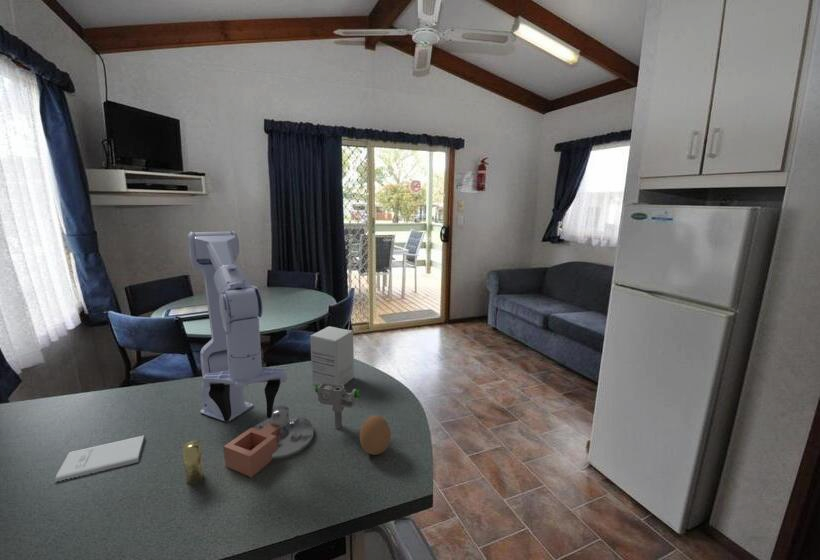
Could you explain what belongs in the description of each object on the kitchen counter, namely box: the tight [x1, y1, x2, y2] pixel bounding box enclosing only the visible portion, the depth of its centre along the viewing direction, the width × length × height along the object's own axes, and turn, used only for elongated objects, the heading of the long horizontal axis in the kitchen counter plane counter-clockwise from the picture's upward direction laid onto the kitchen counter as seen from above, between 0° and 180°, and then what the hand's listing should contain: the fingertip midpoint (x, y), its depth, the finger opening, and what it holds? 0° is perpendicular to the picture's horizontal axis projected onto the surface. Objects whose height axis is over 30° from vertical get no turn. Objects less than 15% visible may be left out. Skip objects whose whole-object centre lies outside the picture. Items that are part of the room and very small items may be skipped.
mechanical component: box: [314, 383, 361, 430], centre depth 85 cm, size 3×10×10 cm, turn 78°
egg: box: [359, 414, 392, 456], centre depth 77 cm, size 6×6×8 cm
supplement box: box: [309, 326, 355, 387], centre depth 106 cm, size 9×9×15 cm
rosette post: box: [252, 404, 314, 461], centre depth 81 cm, size 14×14×7 cm
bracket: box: [223, 423, 281, 478], centre depth 75 cm, size 7×10×4 cm
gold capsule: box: [181, 440, 204, 484], centre depth 69 cm, size 3×3×7 cm
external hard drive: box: [54, 434, 146, 483], centre depth 74 cm, size 2×8×12 cm
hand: (249, 416), depth 72 cm, fingers open, 7 cm apart
